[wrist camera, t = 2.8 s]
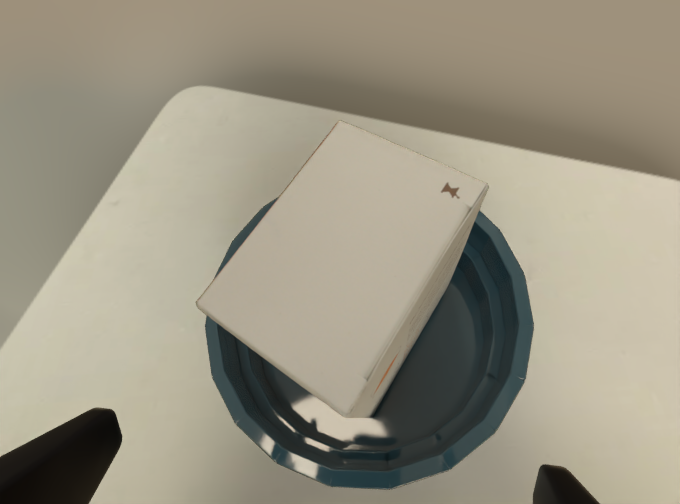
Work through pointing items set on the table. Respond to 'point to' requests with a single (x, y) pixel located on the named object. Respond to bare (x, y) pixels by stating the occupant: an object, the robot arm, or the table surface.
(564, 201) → the table surface
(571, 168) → the table surface
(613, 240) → the table surface
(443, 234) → the small box
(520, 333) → the bowl
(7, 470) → the robot arm
